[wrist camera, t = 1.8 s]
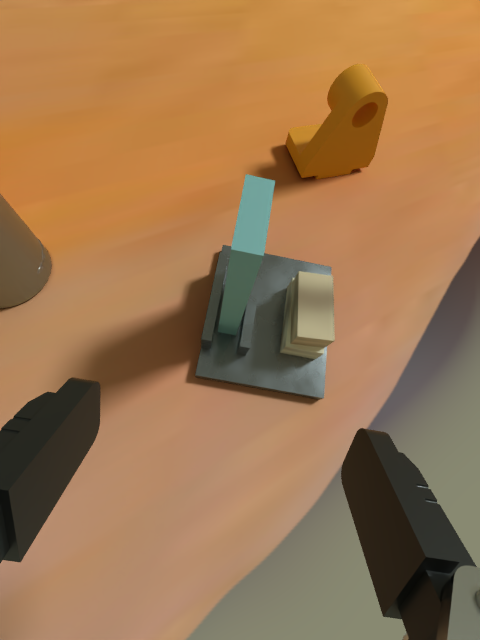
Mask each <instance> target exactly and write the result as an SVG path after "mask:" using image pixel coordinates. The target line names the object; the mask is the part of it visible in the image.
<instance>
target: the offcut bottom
mask: <svg viewBox="0 0 480 640" xmlns="http://www.w3.org/2000/svg"><path fill="white" fill-rule="evenodd" d="M293 280H294V278H292V280H291V282H290V283H289V285H288V287H287V293H286V302H285V311H284V319H283V328H282V337H281V345H280V353H284V354H290V355H295V356H301V357H306V358H311V359H317V358H318V357H320V356H321V355H323V354H324V348H322V347H314V346H305V345H297V344H290V336H291V303H292V282H293Z"/></svg>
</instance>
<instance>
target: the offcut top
mask: <svg viewBox="0 0 480 640" xmlns="http://www.w3.org/2000/svg"><path fill="white" fill-rule="evenodd" d="M332 342H334V297H333V276H330V275H323V274H316V273H309V272H301V271H299V272H298V273H297V275H296V277H295V278H294V280H293V282H292V303H291V336H290V344H297V345H305V346H314V347H322V348H325V347H327V346H328V345H329V344H331V343H332Z"/></svg>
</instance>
